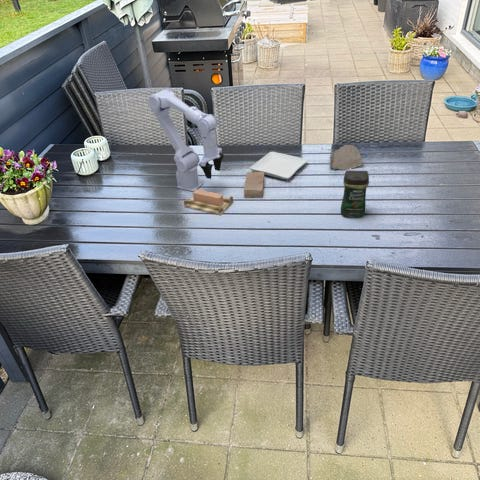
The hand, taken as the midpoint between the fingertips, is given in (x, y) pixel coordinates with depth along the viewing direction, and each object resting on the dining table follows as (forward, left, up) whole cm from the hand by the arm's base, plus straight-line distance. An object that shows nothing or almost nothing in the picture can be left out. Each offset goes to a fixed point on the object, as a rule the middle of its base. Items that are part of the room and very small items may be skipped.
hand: (213, 174), depth 194 cm
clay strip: (+2, -9, -9) cm, 13 cm away
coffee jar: (+60, +7, -10) cm, 61 cm away
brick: (+14, +11, -10) cm, 21 cm away
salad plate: (+17, +32, -10) cm, 38 cm away
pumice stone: (+45, +46, -10) cm, 65 cm away
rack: (+2, -9, -10) cm, 14 cm away
